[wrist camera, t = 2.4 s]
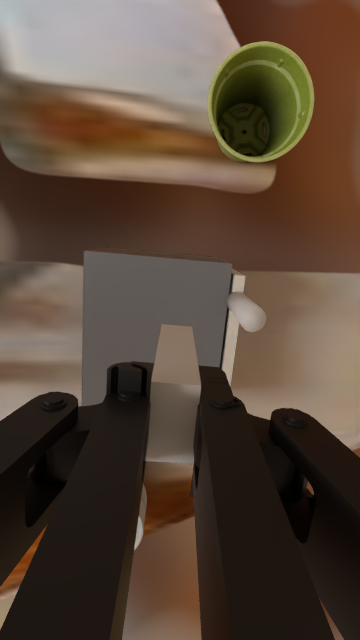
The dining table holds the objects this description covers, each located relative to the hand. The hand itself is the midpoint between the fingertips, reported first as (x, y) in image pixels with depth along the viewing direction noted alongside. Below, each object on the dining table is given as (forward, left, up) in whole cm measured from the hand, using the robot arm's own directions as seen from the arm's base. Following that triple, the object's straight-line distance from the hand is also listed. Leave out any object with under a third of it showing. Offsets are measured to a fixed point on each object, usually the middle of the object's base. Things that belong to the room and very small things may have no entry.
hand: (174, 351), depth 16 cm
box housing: (-2, -6, -26) cm, 27 cm away
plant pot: (+6, +17, -26) cm, 32 cm away
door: (+6, -6, -26) cm, 27 cm away
